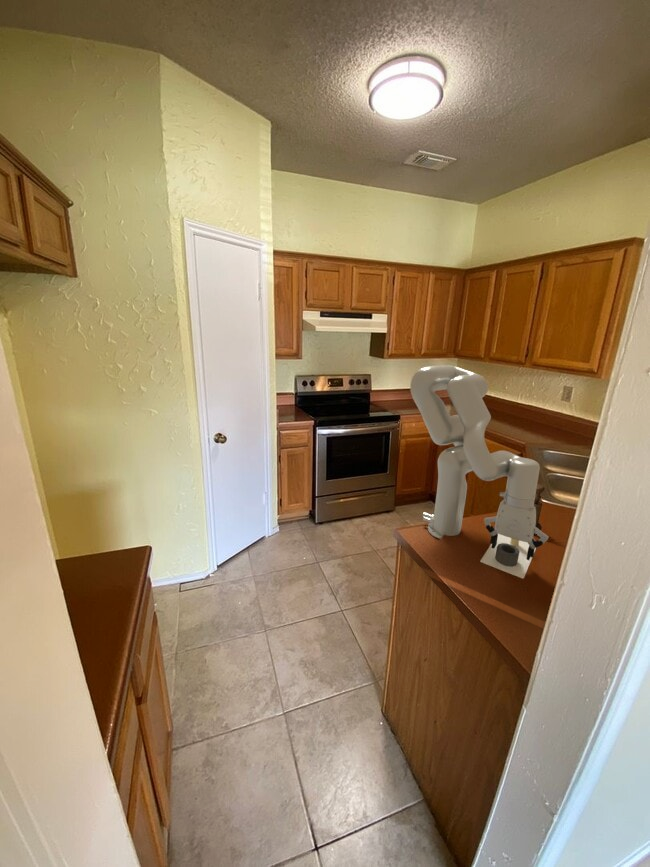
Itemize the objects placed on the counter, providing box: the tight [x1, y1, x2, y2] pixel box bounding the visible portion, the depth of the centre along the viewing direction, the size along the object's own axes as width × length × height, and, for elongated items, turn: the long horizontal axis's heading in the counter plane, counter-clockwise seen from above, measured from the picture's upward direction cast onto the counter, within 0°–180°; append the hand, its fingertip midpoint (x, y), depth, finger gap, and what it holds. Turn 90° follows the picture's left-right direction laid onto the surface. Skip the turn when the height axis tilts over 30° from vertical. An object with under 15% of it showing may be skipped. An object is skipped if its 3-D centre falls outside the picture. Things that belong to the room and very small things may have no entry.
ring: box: [495, 543, 520, 567], centre depth 111 cm, size 6×6×4 cm
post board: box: [480, 534, 537, 579], centre depth 114 cm, size 12×24×12 cm, turn 141°
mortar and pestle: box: [533, 483, 545, 536], centre depth 129 cm, size 7×6×18 cm
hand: (510, 552), depth 109 cm, fingers open, 9 cm apart
